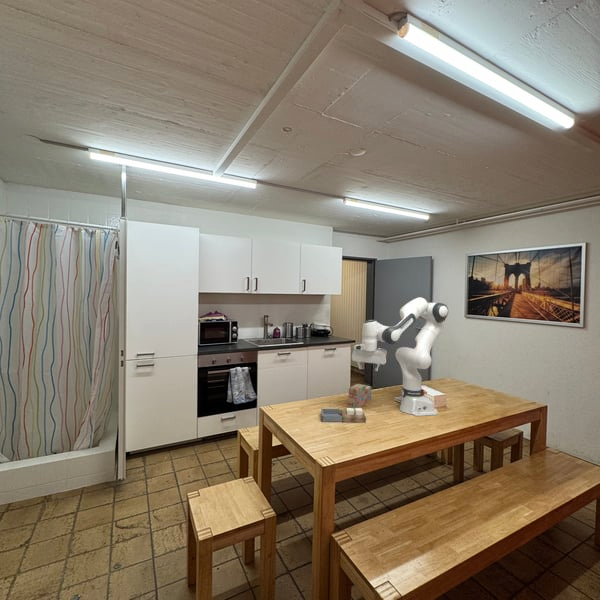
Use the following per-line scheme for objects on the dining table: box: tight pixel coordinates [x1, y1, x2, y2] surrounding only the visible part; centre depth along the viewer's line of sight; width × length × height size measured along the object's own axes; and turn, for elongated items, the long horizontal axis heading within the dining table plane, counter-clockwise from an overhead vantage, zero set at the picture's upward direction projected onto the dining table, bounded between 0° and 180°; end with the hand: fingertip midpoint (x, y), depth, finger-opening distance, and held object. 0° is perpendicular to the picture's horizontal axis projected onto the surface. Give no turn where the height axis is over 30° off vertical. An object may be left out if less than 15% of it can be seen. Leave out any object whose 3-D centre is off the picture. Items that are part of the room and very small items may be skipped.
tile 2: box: [354, 407, 364, 415], centre depth 182 cm, size 4×4×2 cm
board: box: [339, 408, 367, 424], centre depth 182 cm, size 13×12×3 cm
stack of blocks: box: [348, 383, 372, 409], centre depth 208 cm, size 21×6×12 cm, turn 142°
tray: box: [320, 408, 343, 423], centre depth 182 cm, size 11×11×4 cm
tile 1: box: [346, 407, 355, 415], centre depth 182 cm, size 4×4×2 cm
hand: (368, 370), depth 186 cm, fingers open, 8 cm apart
